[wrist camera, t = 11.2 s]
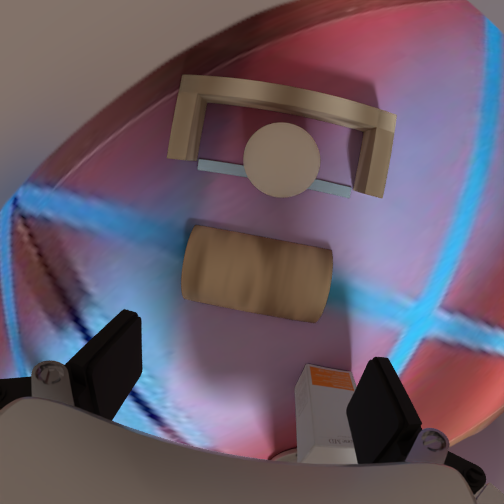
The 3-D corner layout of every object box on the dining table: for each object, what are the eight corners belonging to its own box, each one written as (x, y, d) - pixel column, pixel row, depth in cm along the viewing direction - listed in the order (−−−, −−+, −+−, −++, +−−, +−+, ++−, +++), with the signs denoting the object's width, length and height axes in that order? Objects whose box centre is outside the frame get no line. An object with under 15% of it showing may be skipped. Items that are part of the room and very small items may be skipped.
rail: (381, 120, 23) (396, 115, 19) (368, 194, 25) (382, 198, 21) (193, 85, 23) (182, 74, 20) (180, 158, 25) (166, 158, 22)
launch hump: (323, 236, 31) (338, 258, 24) (306, 301, 34) (314, 338, 26) (207, 214, 32) (186, 230, 24) (198, 281, 34) (178, 313, 26)
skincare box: (352, 369, 30) (376, 448, 19) (338, 394, 32) (354, 471, 20) (304, 361, 30) (314, 445, 19) (292, 387, 32) (296, 469, 20)
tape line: (351, 187, 25) (351, 187, 25) (349, 198, 25) (349, 198, 25) (199, 159, 25) (199, 159, 25) (197, 169, 25) (197, 169, 25)
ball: (314, 215, 20) (307, 193, 26) (334, 134, 18) (321, 130, 23) (232, 199, 20) (242, 180, 26) (246, 116, 18) (253, 116, 23)
